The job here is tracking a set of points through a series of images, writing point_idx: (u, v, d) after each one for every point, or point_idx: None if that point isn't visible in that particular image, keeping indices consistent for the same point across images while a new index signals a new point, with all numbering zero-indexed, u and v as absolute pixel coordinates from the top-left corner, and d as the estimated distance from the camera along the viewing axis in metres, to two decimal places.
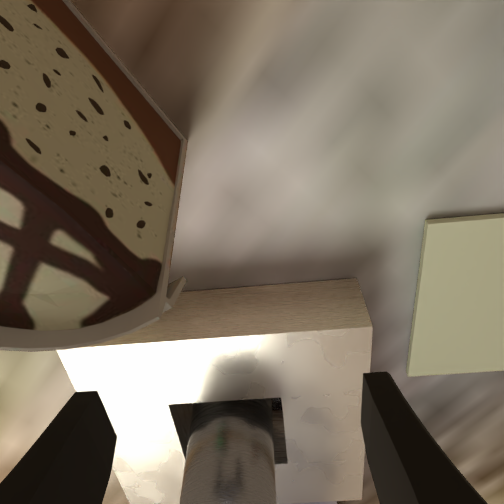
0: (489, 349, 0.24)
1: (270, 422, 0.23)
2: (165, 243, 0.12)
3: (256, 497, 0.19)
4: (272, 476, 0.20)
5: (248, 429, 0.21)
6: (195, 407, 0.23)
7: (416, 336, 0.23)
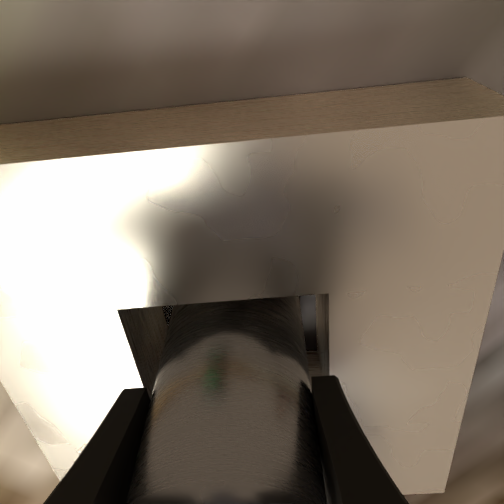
0: None
1: (304, 350, 0.13)
2: None
3: (289, 476, 0.09)
4: (316, 439, 0.10)
5: (267, 351, 0.11)
6: (171, 325, 0.13)
7: None
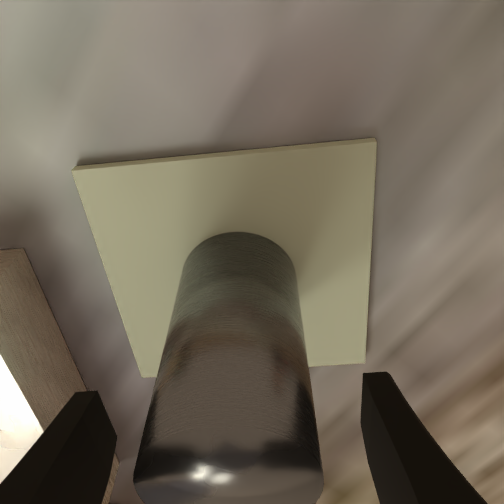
0: None
1: (301, 326, 0.14)
2: None
3: (290, 427, 0.10)
4: (311, 402, 0.11)
5: (270, 322, 0.12)
6: (178, 299, 0.14)
7: (128, 325, 0.18)
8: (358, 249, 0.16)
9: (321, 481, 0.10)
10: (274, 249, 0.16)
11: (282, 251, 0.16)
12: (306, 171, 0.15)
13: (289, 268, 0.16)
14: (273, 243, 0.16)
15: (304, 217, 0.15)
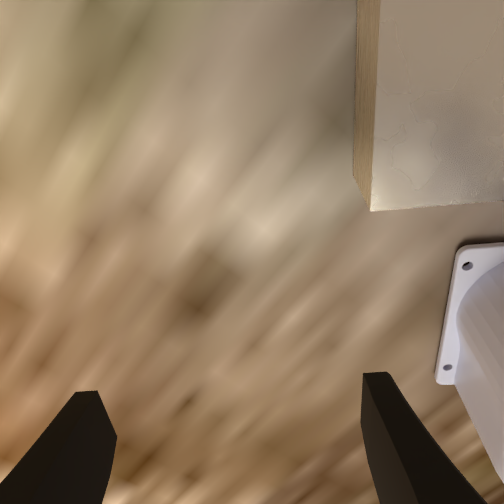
0: None
1: None
2: None
3: None
4: None
5: None
6: None
7: None
8: None
9: None
10: None
11: None
12: None
13: None
14: None
15: None
